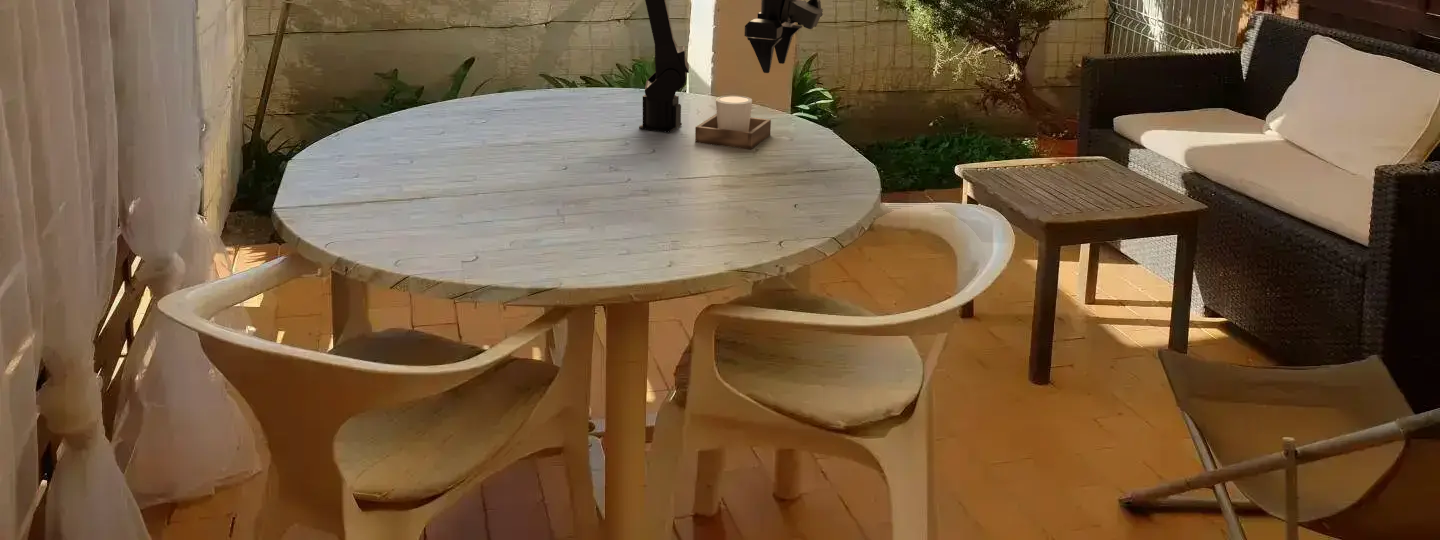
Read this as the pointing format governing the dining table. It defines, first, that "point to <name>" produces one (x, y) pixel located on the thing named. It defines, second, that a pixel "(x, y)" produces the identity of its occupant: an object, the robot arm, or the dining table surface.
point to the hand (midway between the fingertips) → (774, 68)
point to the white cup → (733, 112)
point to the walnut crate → (732, 133)
